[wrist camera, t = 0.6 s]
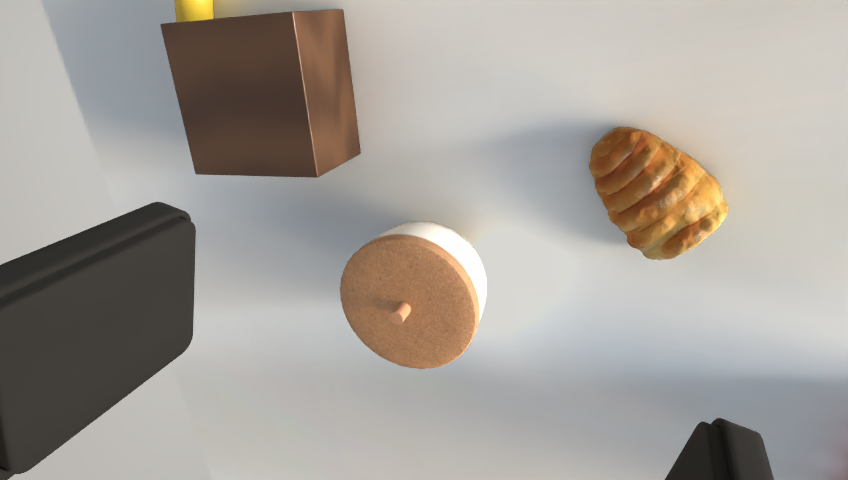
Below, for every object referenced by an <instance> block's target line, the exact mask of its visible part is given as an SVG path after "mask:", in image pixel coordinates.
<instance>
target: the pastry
mask: <svg viewBox="0 0 848 480" xmlns="http://www.w3.org/2000/svg"><path fill="white" fill-rule="evenodd" d="M589 168H590V171H591V173H592V176H593V178H594V180H595V187H596V190H597V192H598V194H599V196H600V197H601V199H602V201H603V204H604V206H605V207H606V209H607V210H608V215H609V219H610V220H611V221H612V223H614V224H615V225H617V226H618V227H619V228H620V230H621V231H623V232H624V233H625V234H626V236H627V241H628V243H629V245H630V246H631V247H633V248H637V249H639V250H640V251H642V253H643V255H644V256H645V257H646V258H649V259H653V260H655V259H657V260H663V259H671V258H675V257H676V256H678V255H680V254H683V253H685V252H687V251H688V250H690V249H692V248H694V247H696V246H698V245H699V244H700V243H701V242H702V241H703V240H704V239H705V238H706V237H707V236H709V235H711V234H712V233H713V232H714V231H715V230H716V229H717V228H718V227H719V226H720V225H721V223H722V222H723V220H724V218H725V217H726V215H727V213H728V205H727V204H726V202H725V200H724V198H723V196H722V192H721V189H720V185H719V183H718V182H717V180H716V179H715V178H714V177H713V176H711V175H710V174H709V173H707V172H706V171H705V170H704V169H703V168H702V167H701V166H700V165H698V163H697V162H696V161H695V160H694V159H693V158H691V157H690V156H688V155H687V154H685V153H683V152H681V151H680V150H678V149H676V148H674V147H672V146H671V145H669V144H668V143H666V142H665V141H663V140H661V139H660V138H658V137H656V136H655V135H653V134H651V133H649V132H647V131H644V130H639V129H634V128H630V127H618V128H615V129H613V130H612V131H610V132H609V133H607V134H606V135H605V136H604V137H603V138H602V139H601V140H600V141H599V142H598V143H597V144H595V146H594V147H593V149H592V152H591V159H590V163H589Z"/></svg>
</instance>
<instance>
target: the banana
mask: <svg viewBox="0 0 848 480" xmlns="http://www.w3.org/2000/svg"><path fill="white" fill-rule="evenodd" d="M175 10H176V21H177V22H186V21H197V20H208V19H214V11H213V0H175Z"/></svg>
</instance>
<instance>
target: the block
mask: <svg viewBox="0 0 848 480" xmlns="http://www.w3.org/2000/svg"><path fill="white" fill-rule="evenodd" d="M161 30H162V34H163V38H164V42H165V47H166V51H167V55H168V59H169V63H170V68H171V72H172V76H173V80H174V85H175V89H176V93H177V97H178V101H179V106H180V110H181V114H182V118H183V123H184V127H185V131H186V135H187V139H188V144H189V148H190V152H191V156H192V161H193V165H194V169H195V173H196V174H205V175H243V176H280V177H319V176H321V175H323V174H325V173H327V172H328V171H330V170H332V169H334V168H336V167H337V166H339V165H341V164H343V163H345V162H347V161H348V160H350V159H352V158H354V157H356V156H357V155H359V154H360V145H359V136H358V128H357V120H356V112H355V103H354V95H353V87H352V79H351V70H350V62H349V54H348V46H347V37H346V29H345V21H344V13H343V10H319V11H296V12H283V13H272V14H262V15H251V16H240V17H229V18H219V19H208V20H197V21H186V22H176V23H165V24H161Z"/></svg>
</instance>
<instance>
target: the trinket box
mask: <svg viewBox="0 0 848 480" xmlns="http://www.w3.org/2000/svg"><path fill="white" fill-rule="evenodd" d="M486 289H487V283H486V275H485V272H484V268H483V265H482V262H481V260H480V258H479V256H478V254H477V252H476V251H475V249H474V248H473V247H472V246H471V244H470V243H469V242H468V241H467V240H466V239H465V238H464V237H462V236H461V235H460V234H459V233H457V232H455V231H454V230H452V229H450V228H448V227H446V226H443V225H440V224H437V223H431V222H410V223H405V224H402V225H399V226H396V227H393V228H391V229H389V230H387V231H385V232H384V233H382V234H380V235H378V236H377V237H376V238H374V239H373V240H372V241H370V242H369V243H367V244H365V245H364V246H363V247H361V248H360V249H359V250H358V251H357V252H356V253H355V254H354V255H353V256H352V257H351V259H350V260H349V261H348V263H347V265H346V267H345V269H344V271H343V275H342V278H341V286H340V293H341V302H342V306H343V310H344V313H345V315H346V318H347V320H348V322H349V324H350V326H351V328H352V329H353V331H354V332H355V333H356V335H357V336H358V337H359V338H360V339H361V341H362V342H363V343H364V344H365V345H366V346H367V347H369V348H370V349H371V350H372V351H373V352H375V353H376V354H378V355H379V356H381V357H382V358H384V359H386V360H388V361H390V362H393V363H395V364H398V365H400V366H405V367H409V368H418V369H427V368H435V367H440V366H443V365H445V364H448V363H450V362H452V361H453V360H455V359H457V358H458V357H459V356H460V355H461V354H462V353H463V352H464V351H465V350H466V349H467V348H468V346H469V345H470V343H471V341H472V339H473V337H474V335H475V333H476V330H477V327H478V323H479V321H480V319H481V316H482V314H483V309H484V305H485V301H486Z"/></svg>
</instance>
